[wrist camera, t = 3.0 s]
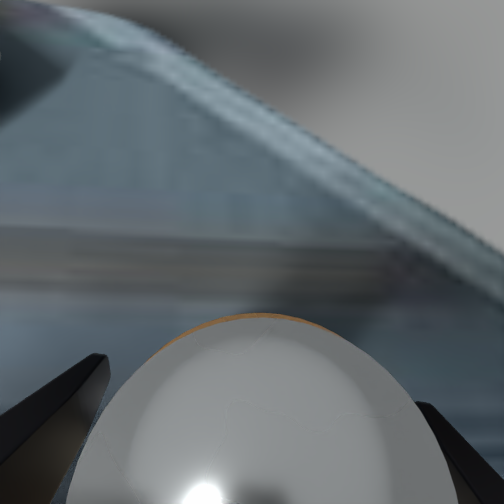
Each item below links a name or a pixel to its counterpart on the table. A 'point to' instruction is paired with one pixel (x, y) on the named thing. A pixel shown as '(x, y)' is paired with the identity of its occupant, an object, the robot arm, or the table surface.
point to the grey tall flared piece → (261, 425)
